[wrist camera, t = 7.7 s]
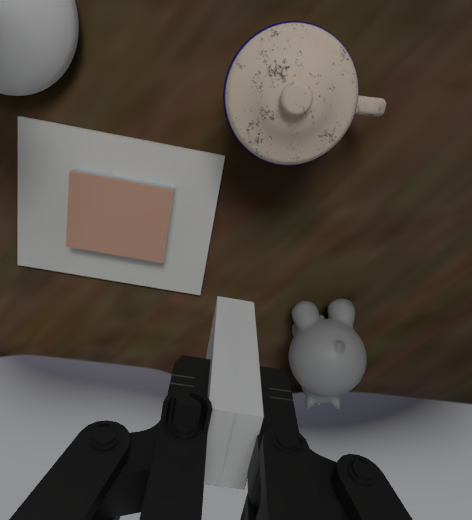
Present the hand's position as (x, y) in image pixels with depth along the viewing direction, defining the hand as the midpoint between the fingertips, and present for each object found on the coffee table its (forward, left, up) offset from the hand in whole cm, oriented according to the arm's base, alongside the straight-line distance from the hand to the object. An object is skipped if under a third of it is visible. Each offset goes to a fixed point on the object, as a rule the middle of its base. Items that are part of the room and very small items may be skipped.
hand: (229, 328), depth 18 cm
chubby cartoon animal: (-12, +14, -24) cm, 30 cm away
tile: (+5, +4, -23) cm, 23 cm away
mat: (+10, +4, -24) cm, 26 cm away
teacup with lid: (-4, -9, -24) cm, 26 cm away
